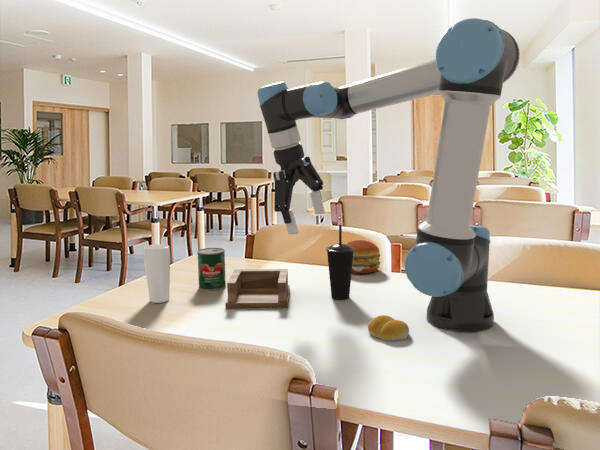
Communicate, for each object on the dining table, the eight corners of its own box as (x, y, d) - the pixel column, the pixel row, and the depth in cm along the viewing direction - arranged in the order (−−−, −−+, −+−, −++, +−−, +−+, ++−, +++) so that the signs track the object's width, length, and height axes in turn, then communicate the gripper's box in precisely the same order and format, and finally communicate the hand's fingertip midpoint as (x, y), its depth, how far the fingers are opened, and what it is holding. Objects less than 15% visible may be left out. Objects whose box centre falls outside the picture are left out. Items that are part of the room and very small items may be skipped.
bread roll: (393, 345, 110) (393, 327, 109) (361, 334, 117) (362, 317, 116) (417, 335, 115) (418, 318, 115) (386, 325, 122) (386, 308, 121)
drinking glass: (177, 300, 142) (174, 246, 139) (155, 306, 137) (151, 250, 134) (163, 295, 146) (160, 243, 144) (141, 301, 142) (138, 246, 139)
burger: (379, 276, 163) (380, 245, 162) (336, 275, 166) (336, 244, 164) (380, 266, 176) (381, 237, 175) (340, 265, 179) (340, 236, 177)
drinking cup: (338, 291, 148) (338, 221, 145) (360, 297, 143) (360, 224, 139) (320, 297, 143) (320, 225, 140) (341, 303, 137) (341, 228, 134)
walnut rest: (287, 308, 134) (287, 283, 133) (225, 308, 134) (224, 284, 133) (289, 290, 150) (289, 268, 149) (234, 290, 150) (233, 268, 149)
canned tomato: (206, 292, 149) (204, 254, 147) (194, 286, 155) (192, 250, 153) (230, 287, 153) (229, 250, 152) (218, 281, 160) (216, 246, 158)
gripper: (300, 134, 143) (319, 206, 150) (245, 162, 125) (269, 243, 131) (323, 131, 139) (341, 205, 145) (269, 158, 120) (293, 242, 127)
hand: (307, 223), depth 138 cm, fingers open, 13 cm apart
